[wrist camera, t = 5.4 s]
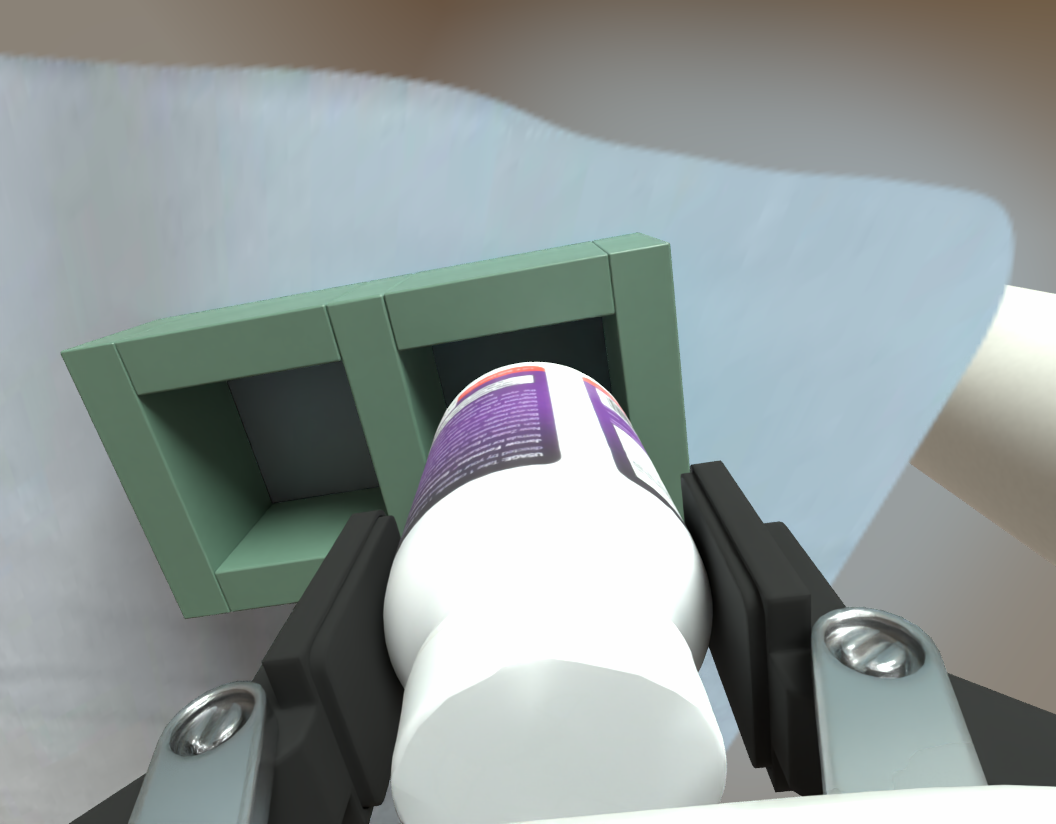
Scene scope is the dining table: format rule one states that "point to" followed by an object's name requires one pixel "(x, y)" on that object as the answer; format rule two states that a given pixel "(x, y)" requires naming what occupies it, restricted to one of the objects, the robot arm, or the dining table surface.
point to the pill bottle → (547, 616)
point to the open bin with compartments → (379, 394)
